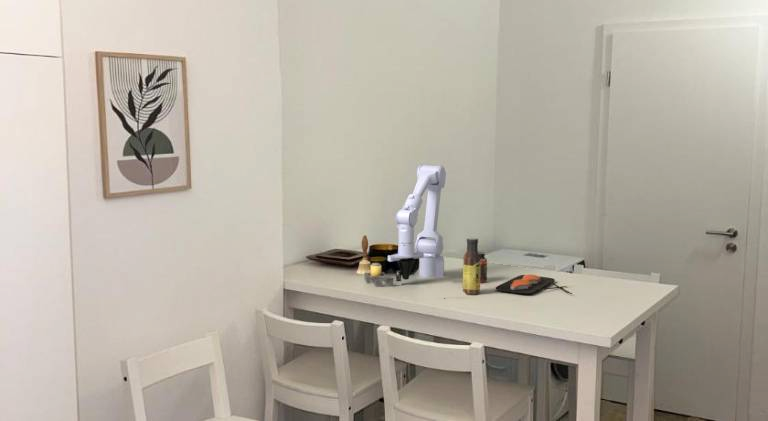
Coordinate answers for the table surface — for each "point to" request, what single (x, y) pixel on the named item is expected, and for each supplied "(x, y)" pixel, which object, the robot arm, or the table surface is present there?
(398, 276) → the lock pin
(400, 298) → the table surface
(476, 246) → the sauce bottle
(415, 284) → the table surface
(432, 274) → the robot arm
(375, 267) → the yellow cylinder
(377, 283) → the dock
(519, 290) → the sushi plate
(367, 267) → the hand bell
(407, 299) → the table surface
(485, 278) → the supplement bottle
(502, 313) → the table surface
